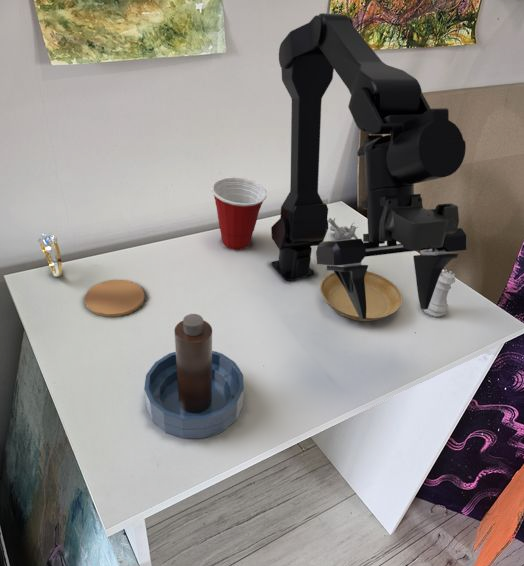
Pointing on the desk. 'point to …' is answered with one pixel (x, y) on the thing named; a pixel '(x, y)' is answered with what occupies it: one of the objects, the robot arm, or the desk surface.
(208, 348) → the bottle
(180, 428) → the bowl
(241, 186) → the plastic cup
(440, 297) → the rook chess piece
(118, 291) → the cork coaster
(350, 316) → the plant saucer
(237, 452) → the desk surface
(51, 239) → the ring
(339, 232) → the gray branched figurine
